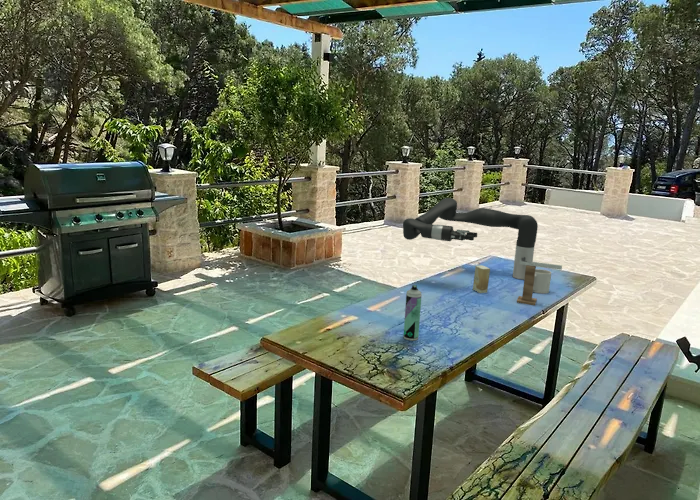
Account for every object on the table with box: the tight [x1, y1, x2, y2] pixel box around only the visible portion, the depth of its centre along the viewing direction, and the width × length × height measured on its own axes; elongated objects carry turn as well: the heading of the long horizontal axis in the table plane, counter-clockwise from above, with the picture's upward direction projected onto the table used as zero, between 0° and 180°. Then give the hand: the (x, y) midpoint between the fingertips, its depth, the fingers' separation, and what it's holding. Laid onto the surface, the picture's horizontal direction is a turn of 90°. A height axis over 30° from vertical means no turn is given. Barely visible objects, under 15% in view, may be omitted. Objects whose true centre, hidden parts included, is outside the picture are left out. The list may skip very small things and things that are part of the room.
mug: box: [533, 268, 552, 294], centre depth 265 cm, size 11×10×10 cm
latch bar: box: [519, 257, 563, 271], centre depth 243 cm, size 2×18×3 cm, turn 67°
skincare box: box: [472, 265, 491, 294], centre depth 260 cm, size 6×4×12 cm
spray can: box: [403, 284, 422, 342], centre depth 197 cm, size 6×6×20 cm
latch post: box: [516, 265, 538, 306], centre depth 247 cm, size 8×8×17 cm
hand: (475, 236), depth 260 cm, fingers open, 8 cm apart
